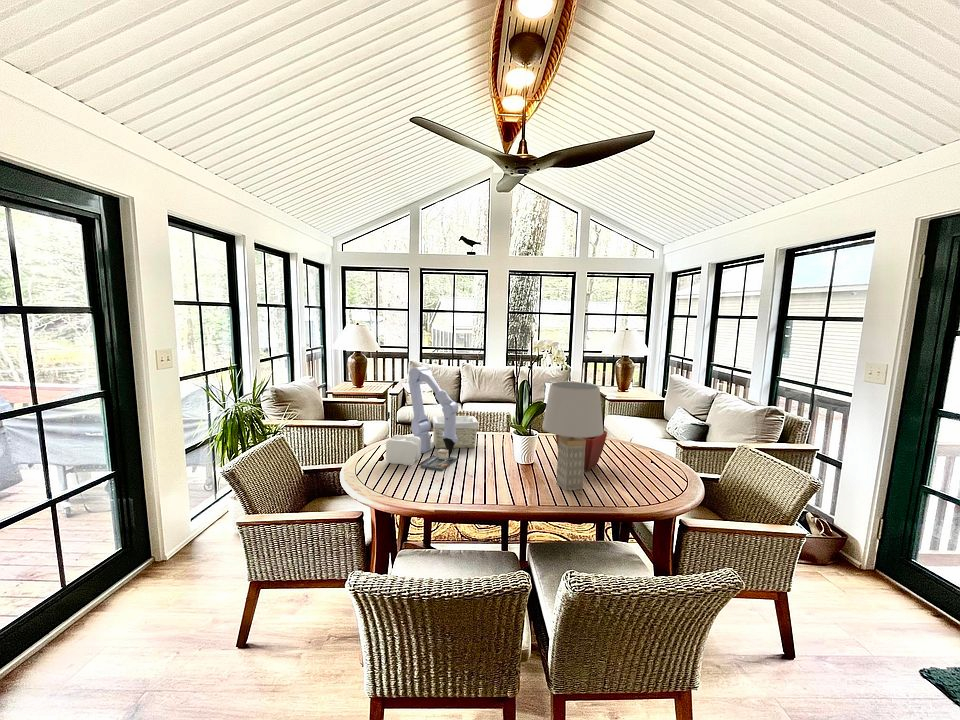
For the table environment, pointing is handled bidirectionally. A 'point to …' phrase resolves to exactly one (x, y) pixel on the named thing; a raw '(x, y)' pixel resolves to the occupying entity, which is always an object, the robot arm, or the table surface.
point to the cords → (426, 460)
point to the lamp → (572, 427)
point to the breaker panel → (438, 463)
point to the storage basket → (464, 431)
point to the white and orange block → (443, 454)
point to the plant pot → (592, 450)
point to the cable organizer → (403, 449)
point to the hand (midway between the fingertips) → (449, 452)
